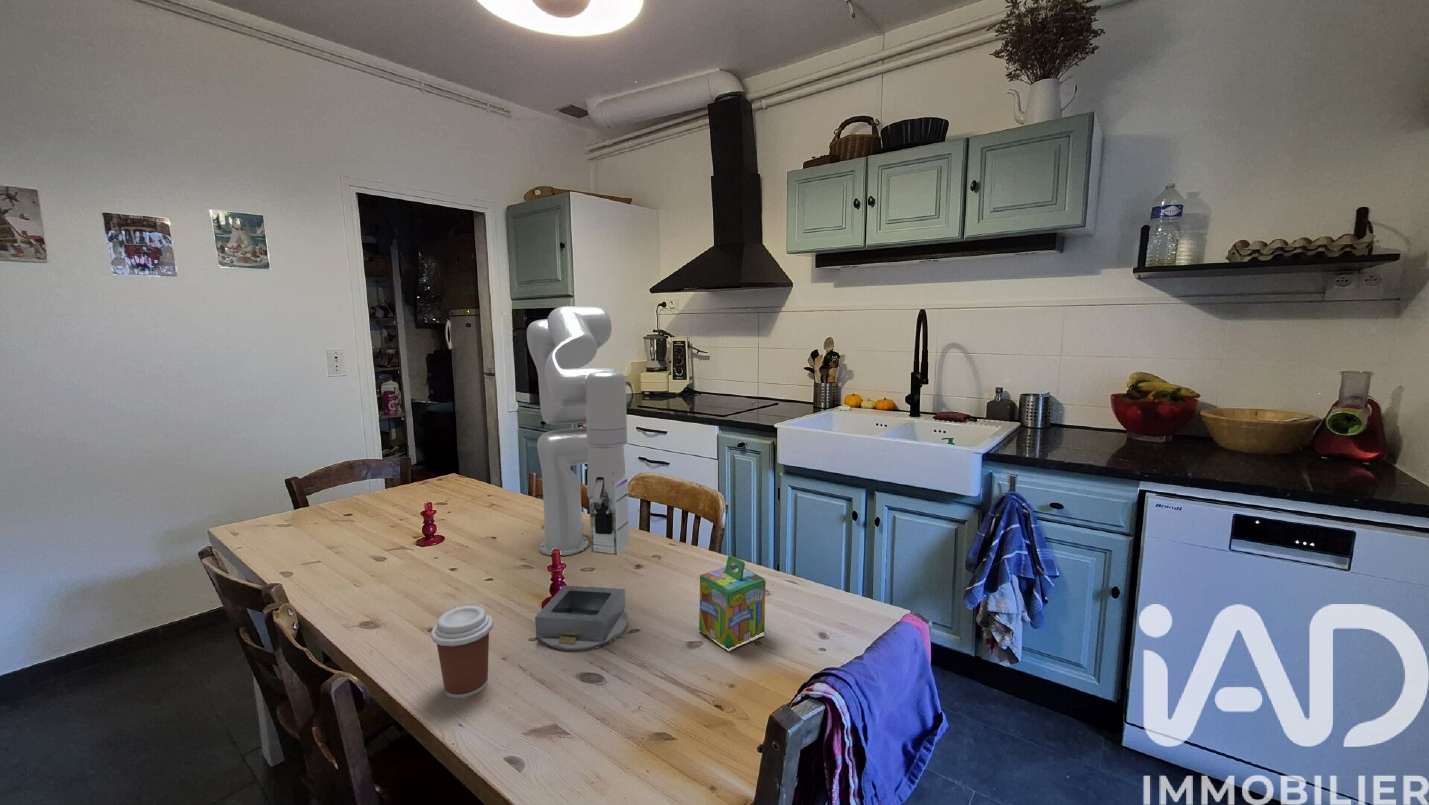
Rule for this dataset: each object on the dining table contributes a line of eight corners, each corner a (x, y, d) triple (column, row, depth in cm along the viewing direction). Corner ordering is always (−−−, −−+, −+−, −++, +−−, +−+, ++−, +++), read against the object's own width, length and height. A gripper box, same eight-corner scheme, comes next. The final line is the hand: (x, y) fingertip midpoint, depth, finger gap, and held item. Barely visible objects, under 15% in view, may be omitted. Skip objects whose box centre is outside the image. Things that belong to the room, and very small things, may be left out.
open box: (559, 603, 118) (558, 580, 118) (637, 608, 116) (637, 585, 115) (521, 647, 102) (519, 621, 101) (611, 654, 99) (610, 628, 99)
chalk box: (698, 632, 107) (697, 558, 105) (735, 617, 112) (735, 546, 110) (728, 654, 99) (728, 574, 97) (766, 637, 105) (767, 561, 103)
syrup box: (630, 545, 111) (628, 474, 110) (616, 556, 106) (614, 482, 104) (604, 542, 113) (602, 472, 111) (590, 553, 108) (587, 479, 106)
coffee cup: (486, 702, 87) (481, 629, 85) (425, 706, 86) (419, 632, 84) (503, 667, 96) (499, 601, 94) (448, 670, 95) (443, 603, 93)
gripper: (601, 427, 115) (604, 511, 118) (571, 445, 98) (575, 543, 101) (637, 428, 115) (639, 513, 117) (613, 446, 98) (616, 544, 100)
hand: (609, 526), depth 109 cm, fingers closed on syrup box, 6 cm apart
